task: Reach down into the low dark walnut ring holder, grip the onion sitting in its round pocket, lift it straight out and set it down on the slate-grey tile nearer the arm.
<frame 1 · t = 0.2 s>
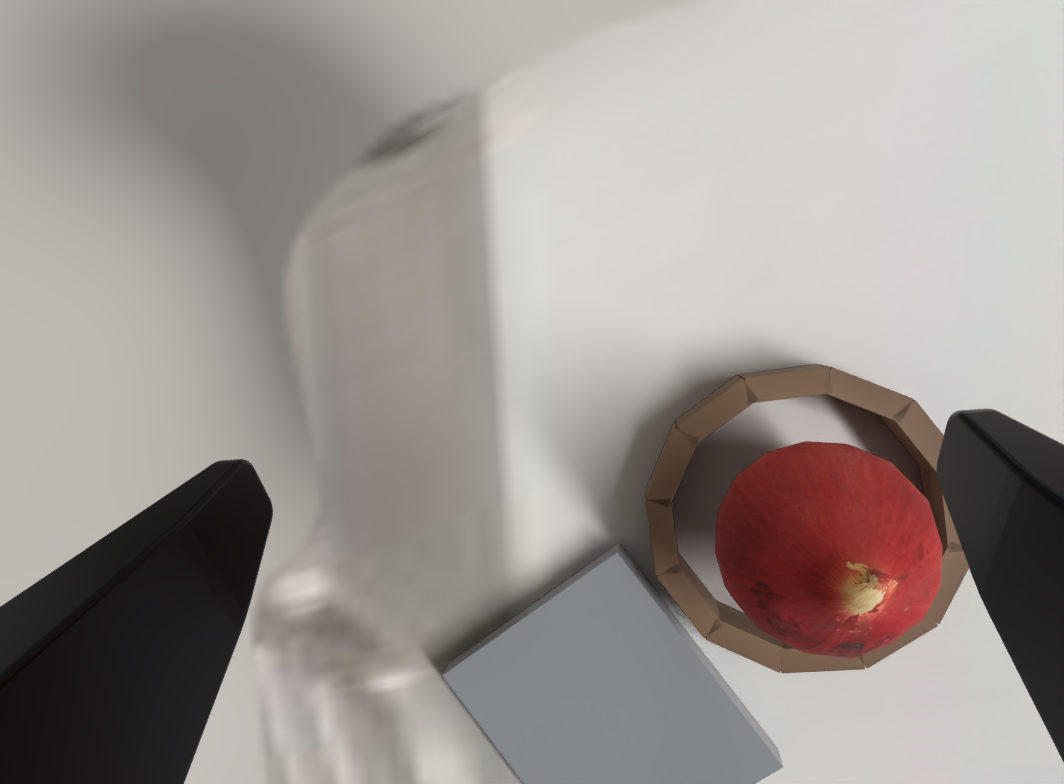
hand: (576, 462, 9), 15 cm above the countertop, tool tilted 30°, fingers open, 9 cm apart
slate tile: (607, 703, 24), on the countertop
ring holder: (794, 510, 23), on the countertop
onion: (793, 508, 23), resting in ring holder
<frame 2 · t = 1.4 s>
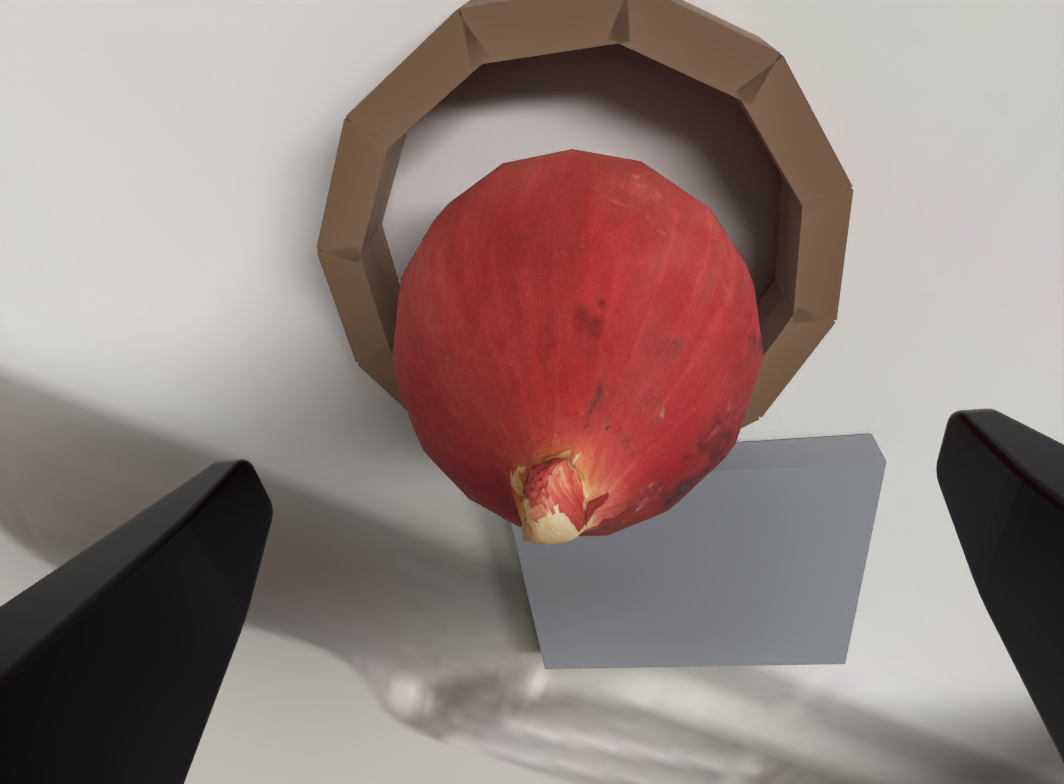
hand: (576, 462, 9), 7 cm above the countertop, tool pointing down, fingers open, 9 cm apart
slate tile: (684, 553, 19), on the countertop
ring holder: (578, 250, 14), on the countertop
onion: (578, 246, 14), resting in ring holder
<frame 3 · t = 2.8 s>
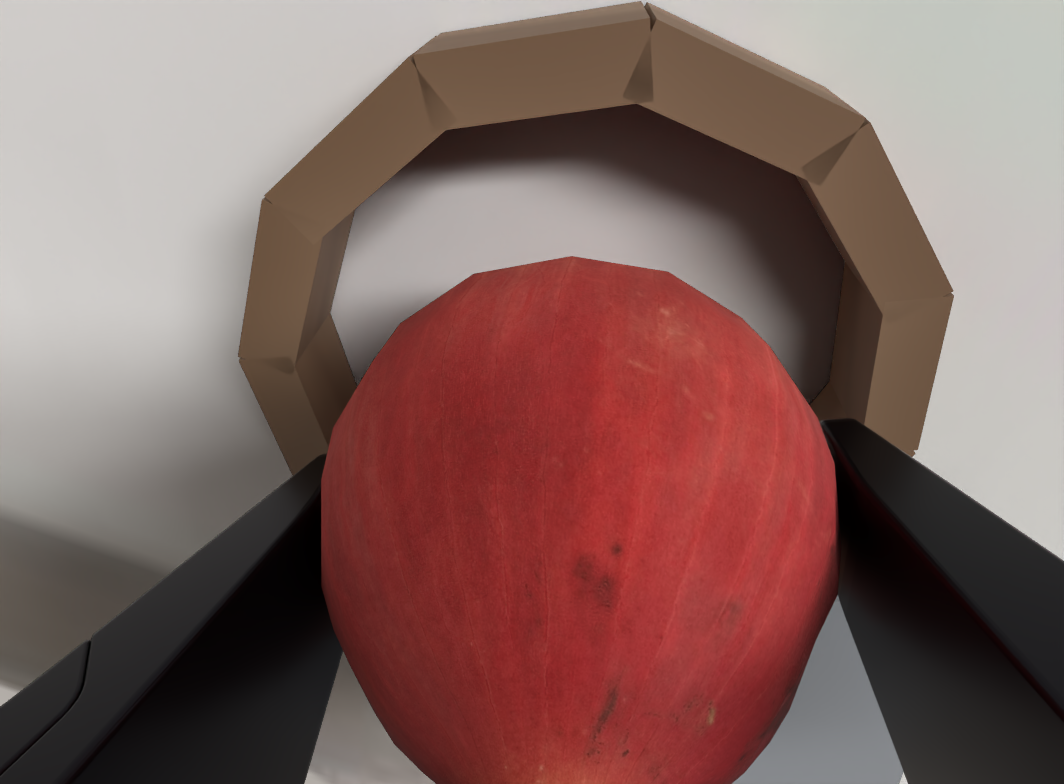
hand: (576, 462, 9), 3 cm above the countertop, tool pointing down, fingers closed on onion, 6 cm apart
slate tile: (705, 675, 16), on the countertop
ring holder: (580, 347, 11), on the countertop
onion: (580, 340, 11), resting in ring holder, touching gripper
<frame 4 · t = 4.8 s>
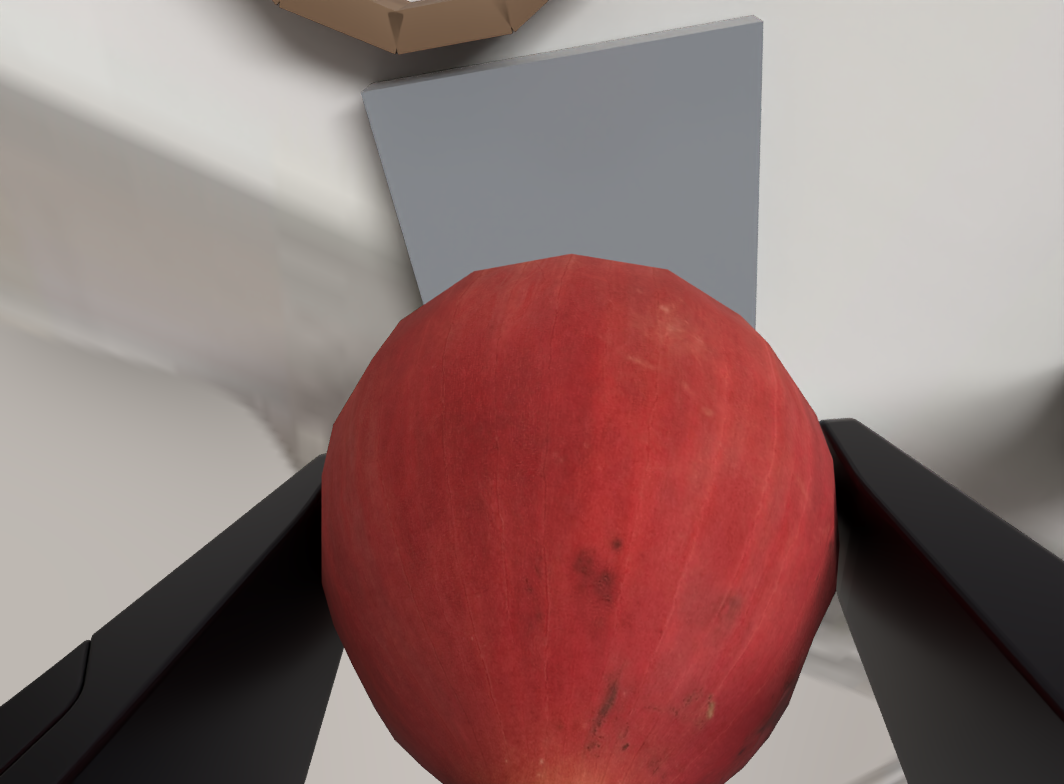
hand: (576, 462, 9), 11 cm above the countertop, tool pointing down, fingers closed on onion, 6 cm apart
slate tile: (576, 214, 18), on the countertop
onion: (579, 338, 11), point 8 cm above the countertop, touching gripper
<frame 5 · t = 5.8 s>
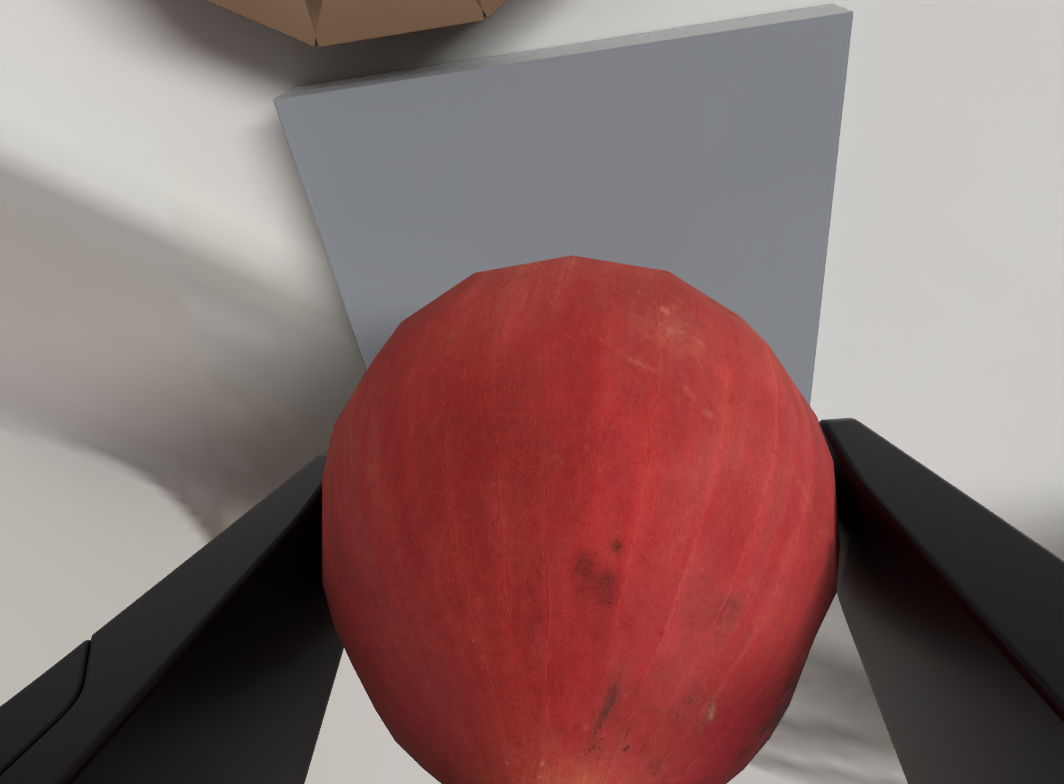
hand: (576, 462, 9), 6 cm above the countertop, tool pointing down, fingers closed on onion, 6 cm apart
slate tile: (575, 268, 13), on the countertop
onion: (580, 339, 11), point 3 cm above the countertop, touching gripper
when the fingers open (5 cm above the countertop, at t = 6.8 s): onion stays where it is, resting on slate tile.
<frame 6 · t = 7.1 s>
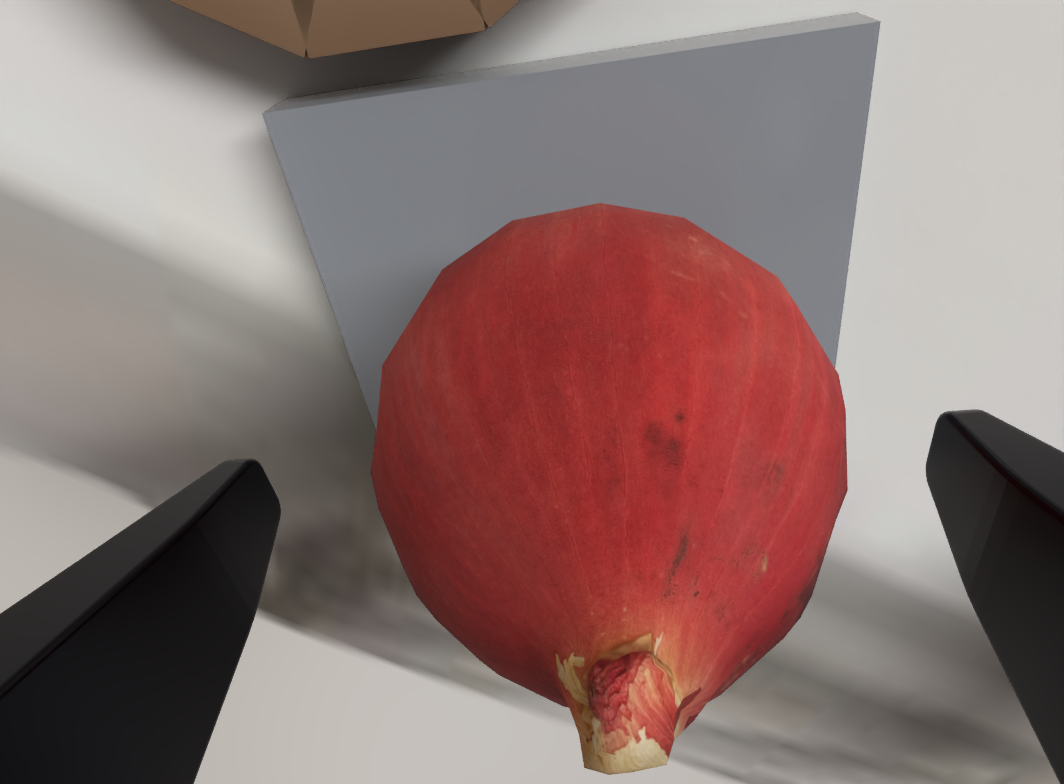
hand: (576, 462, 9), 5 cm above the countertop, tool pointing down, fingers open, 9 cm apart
slate tile: (580, 287, 13), on the countertop
onion: (582, 311, 12), point 1 cm above the countertop, touching slate tile
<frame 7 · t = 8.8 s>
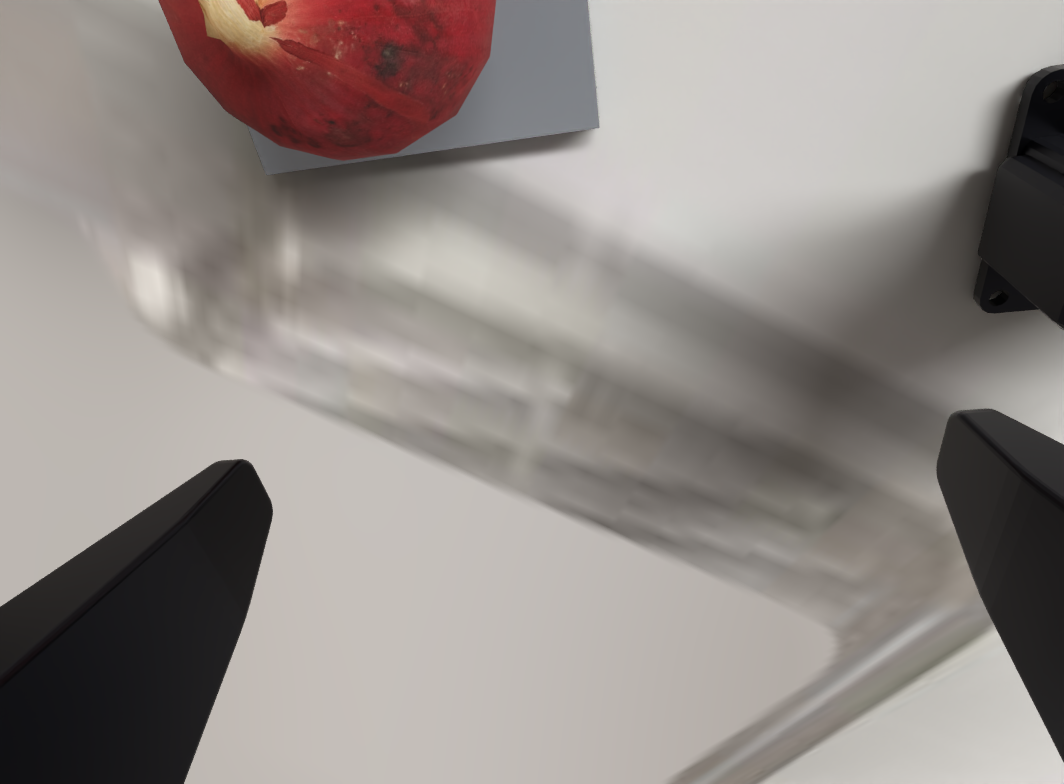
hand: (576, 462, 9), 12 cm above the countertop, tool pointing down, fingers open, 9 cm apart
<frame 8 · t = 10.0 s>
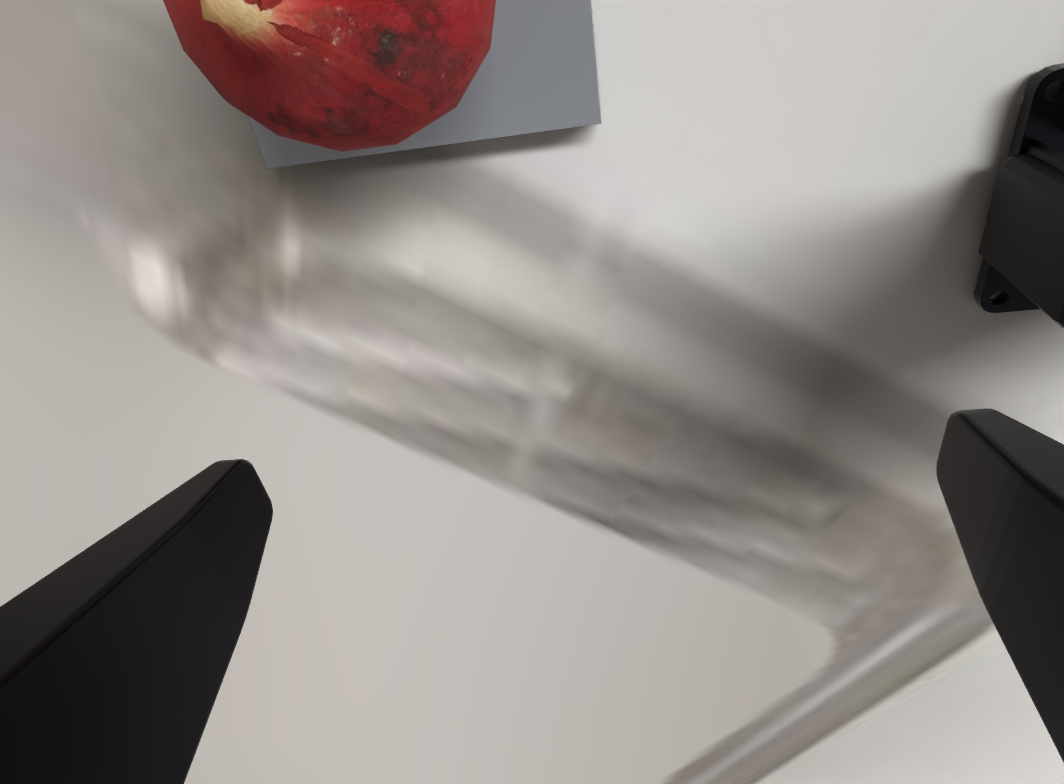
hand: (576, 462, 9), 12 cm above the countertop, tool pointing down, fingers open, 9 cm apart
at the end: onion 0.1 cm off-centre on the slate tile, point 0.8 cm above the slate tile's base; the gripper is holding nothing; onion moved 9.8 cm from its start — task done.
